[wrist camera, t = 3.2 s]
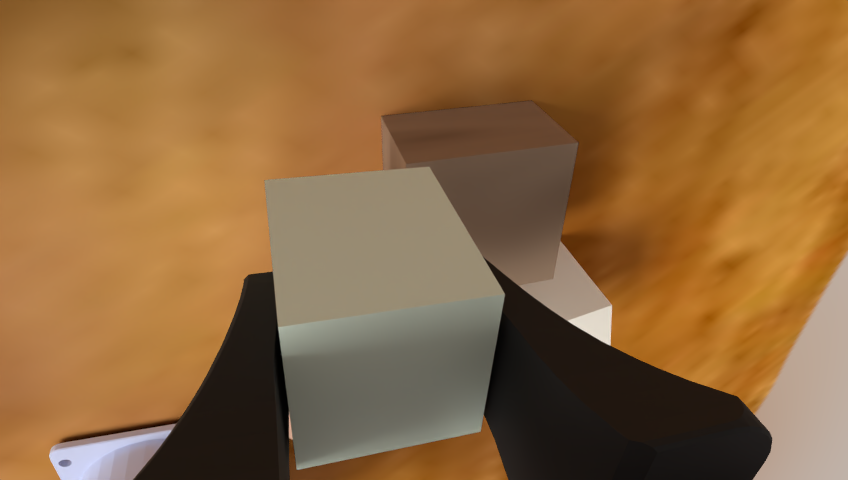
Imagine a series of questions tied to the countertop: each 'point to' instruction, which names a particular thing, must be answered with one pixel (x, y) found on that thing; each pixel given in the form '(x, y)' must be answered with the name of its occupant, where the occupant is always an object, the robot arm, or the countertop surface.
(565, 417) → the robot arm
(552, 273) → the walnut block
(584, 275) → the cream block
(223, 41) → the countertop surface
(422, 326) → the sage block
